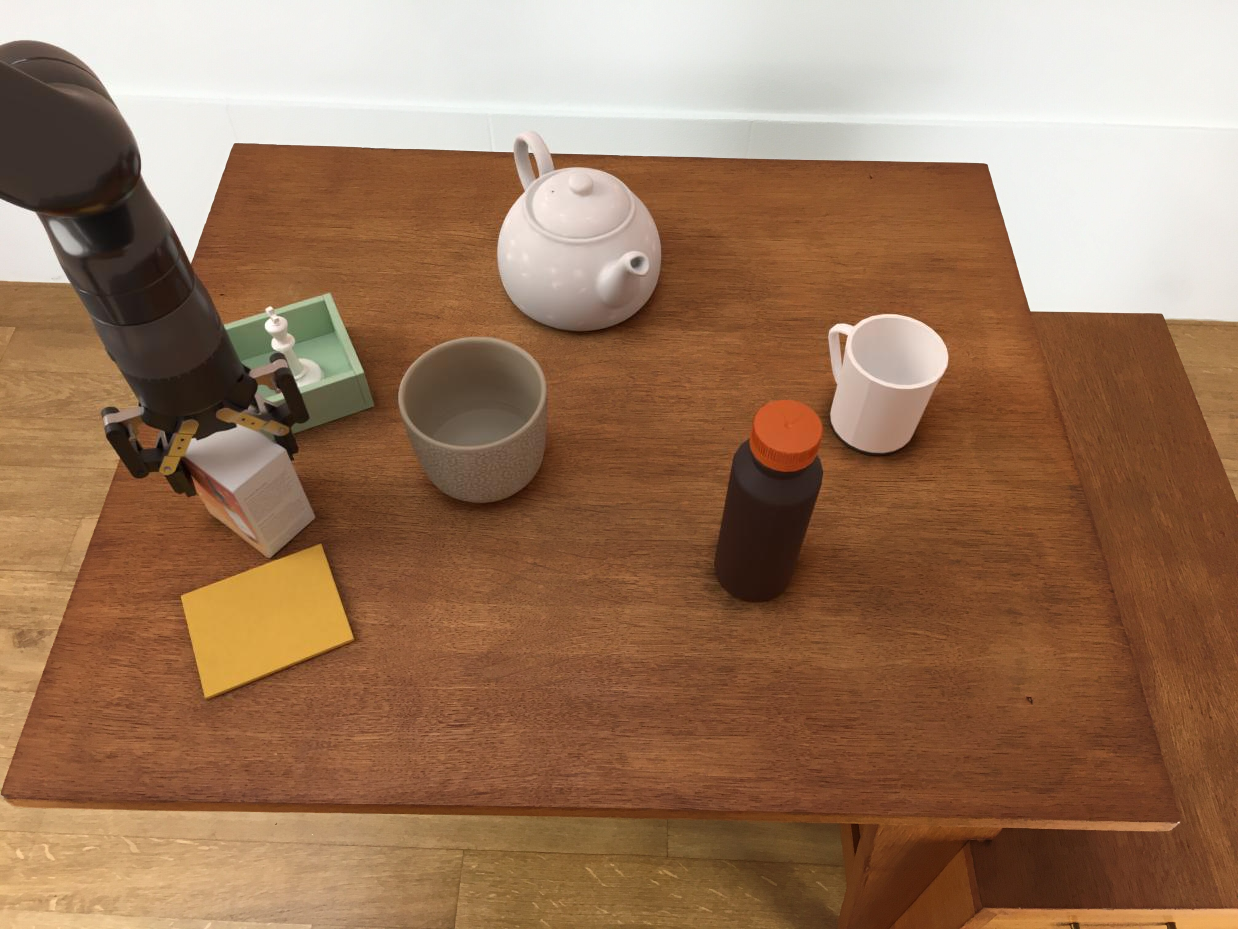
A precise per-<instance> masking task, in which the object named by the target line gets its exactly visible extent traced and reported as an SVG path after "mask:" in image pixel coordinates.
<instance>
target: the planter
mask: <svg viewBox="0 0 1238 929" xmlns="http://www.w3.org/2000/svg"><path fill="white" fill-rule="evenodd" d="M397 396H398V397H397V401H398V408H399V412H400V415H401V419H402V422H403V425H404V428H405V431H406V434H407V437H408V439H409V441H410V444H411V446H412V448H413V452H414V453H415V456H416V459H417V460H418V462H419V464H420V466H421V468H422V470H423V472H424V473H425V475H426V476H427V478H428V479H429V481H430V482H431V483H432V484H433V486H435V487H436V488H437V489H438V490H440V491H441V492H442V493H444V494H445V495H447V496H448V497H451V498H453V499H455V500H459V501H461V502H462V501H463V502H466V503H472V504H473V503H474V504H486V503H488V504H489V503H493V502H498V501H501V500H505V499H507V498H509V497H511V496H513V495H515V494H517V493H518V492H520V491H521V490H522V489H524V488H525V487H526V486H527V485H528V484H529V483H530V482H531V481H532V480H533V479H534V477H535V476H536V474H537V472H538V471H539V470H540V467H541V465H542V462H543V460H544V455H545V449H546V443H547V432H548V431H547V430H548V411H549V410H548V405H549V404H548V403H549V402H548V387H547V380H546V376H545V374H544V371H543V369H542V367H541V365H540V364H539V362H538V361H537V360H536V359H535V357H533V356H532V355H531V354H530V353H529V352H528V351H527V350H525V349H523V348H522V347H520V346H518V345H517V344H515V343H513V342H511V341H507V340H504V339H502V338H501V339H500V338H497V337H490V336H467V337H460V338H455V339H451V340H448V341H445V342H443V343H440V344H438V345H435V346H434V347H432V348H430V349H429V350H427V351H426V352H424V353H422V354H421V355H420V356H419V357H417V358H416V359H415V360H414V362H412V363H411V364H410V366H409V367H408V369H407V370H406V372H405V373H404V375H403V377H402V379H401V382H400V385H399V388H398V394H397Z"/></svg>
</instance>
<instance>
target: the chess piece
mask: <svg viewBox="0 0 1238 929" xmlns="http://www.w3.org/2000/svg"><path fill="white" fill-rule="evenodd" d="M265 312H266V313H267V314H268V315H269V316H270V319H269V320H267V322H266V323H265V329H266V330H267V332H268V333H269V334H271V335H272V336H273V339H272V344H271V345H272V347H273V349H275V350H277V351H281V353H283V354H284V355H285V357H286V359H287V362H288V364H289V366H290V369H291V371H292V373H293V376H294V378H295V381H296V383H297V385H298V388H299V387H302V386H305V385H308V384H311V383H314V382H317V381H320V380H323V379H324V374H323V371H322V370H321V368H320V367H319V365H318V364H317V363H315V362H314V361H311V360H308V359H298V358H297V356H296V355H295V353H294V351H293V350H292V347H293V345H294V343H295V339H294V337H293V336H292V335H290V334H288V333H287V327H288V323H287V320H286V319H285V318H283V317H279V316H277V315H276V314H275V312H274V308H273V307H272V306H268V307H266V308H265ZM281 393H282V392H281ZM276 394H277V393H276ZM279 394H280V393H279Z"/></svg>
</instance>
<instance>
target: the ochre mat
mask: <svg viewBox="0 0 1238 929" xmlns="http://www.w3.org/2000/svg"><path fill="white" fill-rule="evenodd" d="M180 598H181V604H182V608H183V612H184V616H185V619H186V624H187V628H188V633H189V637H190V640H191V645H192V649H193V653H194V658H195V662H196V665H197V666H196V667H197V670H198V674H199V679H200V684H201V686H202V687H201V688H202V692H203V695H204V699H205V700H206V701H207V700H210V699H213V698H215V697H217V696H220V695H222V694H225V693H227V692H230V691H232V690H234V689H238V688H240V687H242V686H245V685H247V684H250V683H252V682H255V681H258V680H260V679H263V678H265V677H268V676H270V675H272V674H275V673H277V672H280V671H282V670H286V669H288V668H290V667H292V666H294V665H297V664H299V663H303V662H305V661H307V660H310V659H312V658H315V657H317V656H320V655H322V654H326V653H327V652H330V651H332V650H334V649H337V648H339V647H342V646H344V645H347V644H350V643H352V642H355V636H354V634H353V631H352V628H351V626H350V622H349V618H348V617H347V614H346V611H345V608H344V605H343V602H342V599H341V597H340V594H339V591H338V586H337V585H336V581H335V579H334V576H333V573H332V569H331V568H330V564H329V561H328V559H327V555H326V553H325V550H324V547H323V545H322V543H319V544H316V545H313V546H310V547H307V548H306V549H302V550H299V551H297V552H295V553H291V554H288V555H287V556H284V557H283V556H282V557H281V558H278V559H275V560H273V561H270V562H268V563H264V564H262V565H260V566H256V567H254V568H251V569H249V570H246V571H243V572H240V573H237V574H235V575H232V576H229V577H226V578H224V579H222V580H218V581H216V582H214V583H210V584H208V585H206V586H203V587H200V588H198V589H195V590H192V591H189V592H187V593H184V594H181V595H180Z"/></svg>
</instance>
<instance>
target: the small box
mask: <svg viewBox="0 0 1238 929" xmlns="http://www.w3.org/2000/svg"><path fill="white" fill-rule="evenodd" d="M236 425H237V427H236V428H233V429H230V430H227V431H221V432H216V433H214V434H212V435H210V436H209V437H207V438H204V439H201V440H198V441H197V440H196V438H193V439H191V441H190V444H189V446H188V449H187V451H186V453H185V456H184V457H181V459H182V461H183V462H184V464H185V466H186V467H187V469H188V471H189V472H190V474H191V476H192V478H193V481H194V485H195V489H196V492H197V495H198V496H199V498H200V499H201V501H202V503H203V504H204V506H205V508H206V510H207V511H208V513H209V514H210V515H211V516H212V517H214V518H215V519H216V520H218V521H219V522H221V523H223V524H224V526H226V527H228V528H229V529H230V530H232V531H233V533H235V534H237V535H238V536H239V537H240V538H242V539H243V540H244V541H245V542H247V543H248V544H249V545H250V546H251V547H253V548H254V549H256V550H257V551H258V552H259V553H260V554H261V555H263V556H264V557H265V558H267V559H272V557H273V556H274V555H275V554H277V553H278V552H279V551H280V550H281V549H282V548H283V547H285V546H286V545H287V544H288V543H289V542H290V541H291V540H292V539H294V538H295V537H296V536H297V535H298V534H299V533H300V532H302V530H303V529H305V528H306V527H307V526H309V525H310V523H311V522H312V521H314V520H315V519H316V515H315V513H314V510H313V508H312V505H311V504H310V501H309V499H308V497H307V495H306V492H305V490H304V488H303V485H302V483H301V481H300V478H299V476H298V474H297V472H296V469H295V467H294V465H293V463H292V462H293V461H291V460H290V458H289V456H288V453H287V451H286V449H285V448H283V447H281V446H280V445H278V444H277V443H276V441H275V440H273V441H272V440H271V439H269V438H268V437H266V436H265V435H264V434H262V433H261V432H257V431H254V430H251V429H249V428H246V427H244V426H241V425H239V424H236Z"/></svg>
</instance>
